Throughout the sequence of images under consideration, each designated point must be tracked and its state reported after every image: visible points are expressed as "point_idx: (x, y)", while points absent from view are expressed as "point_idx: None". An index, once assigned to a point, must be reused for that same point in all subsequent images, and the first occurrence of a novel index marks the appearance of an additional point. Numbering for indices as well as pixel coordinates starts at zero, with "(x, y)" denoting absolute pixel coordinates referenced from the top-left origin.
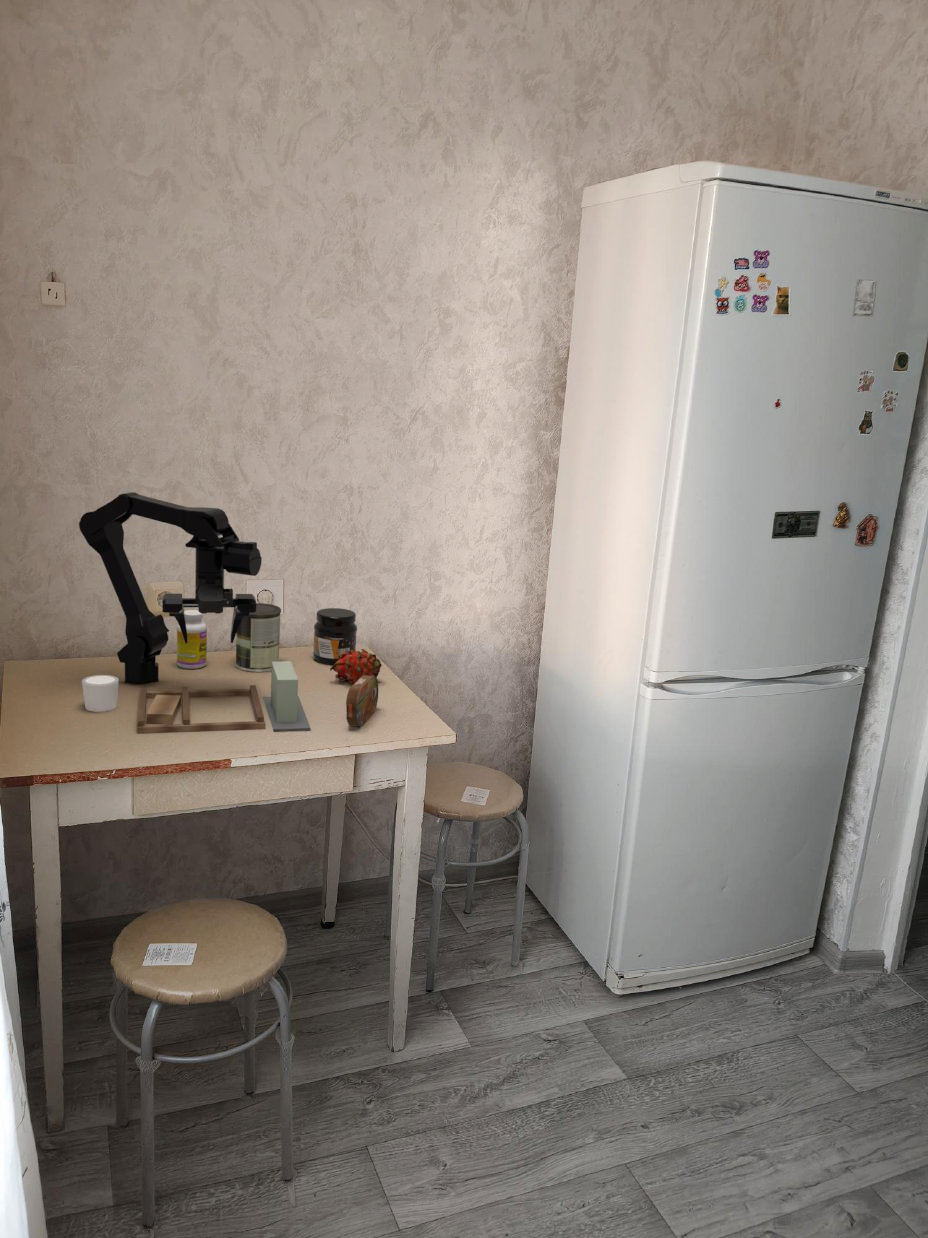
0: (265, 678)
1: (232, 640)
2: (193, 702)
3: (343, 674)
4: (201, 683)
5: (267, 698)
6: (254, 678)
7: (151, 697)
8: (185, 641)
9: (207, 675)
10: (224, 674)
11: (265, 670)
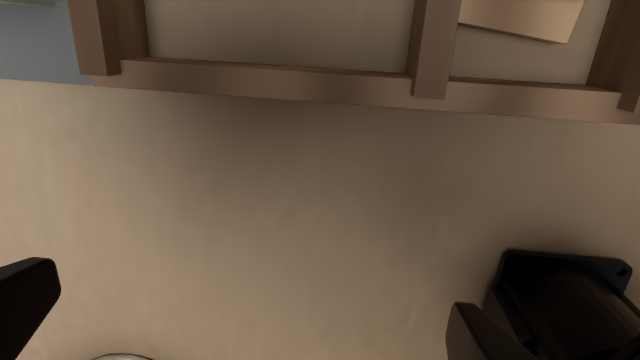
0: (107, 299)
1: (17, 266)
2: None
3: None
4: (324, 290)
5: (72, 60)
6: (143, 305)
7: (583, 88)
8: (480, 313)
9: (297, 356)
10: (241, 355)
11: (108, 358)
